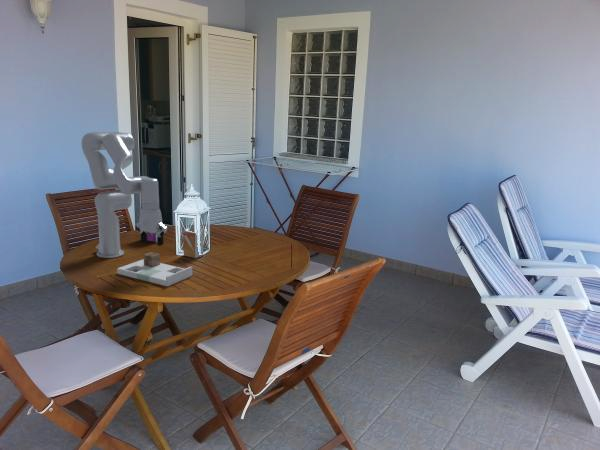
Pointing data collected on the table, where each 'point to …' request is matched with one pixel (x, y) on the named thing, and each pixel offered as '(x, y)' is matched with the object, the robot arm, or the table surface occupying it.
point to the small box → (191, 244)
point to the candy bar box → (152, 237)
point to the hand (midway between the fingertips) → (152, 243)
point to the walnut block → (151, 259)
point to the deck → (155, 273)
